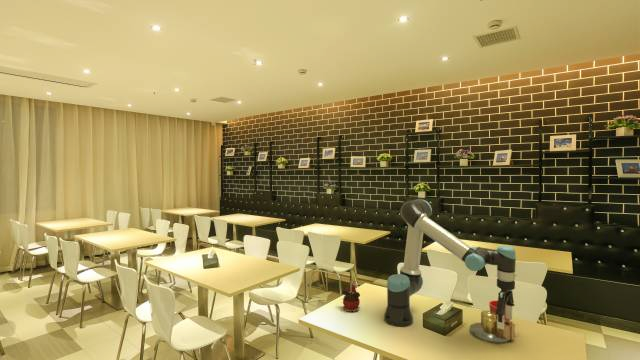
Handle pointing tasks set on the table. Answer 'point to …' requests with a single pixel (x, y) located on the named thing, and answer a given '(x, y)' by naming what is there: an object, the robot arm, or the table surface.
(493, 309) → the flower pot
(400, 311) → the robot arm
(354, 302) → the red vase
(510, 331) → the gear
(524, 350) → the table surface
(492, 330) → the carrier
